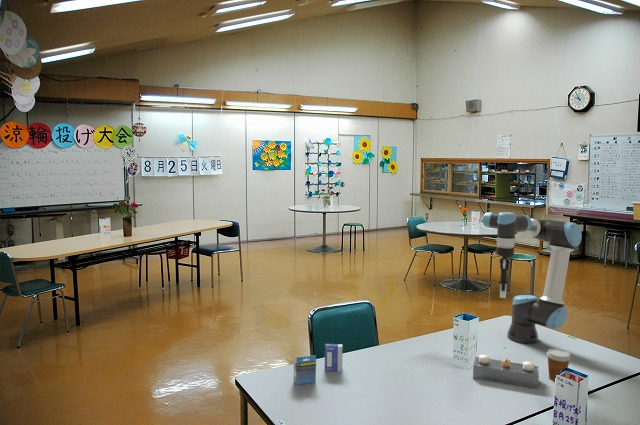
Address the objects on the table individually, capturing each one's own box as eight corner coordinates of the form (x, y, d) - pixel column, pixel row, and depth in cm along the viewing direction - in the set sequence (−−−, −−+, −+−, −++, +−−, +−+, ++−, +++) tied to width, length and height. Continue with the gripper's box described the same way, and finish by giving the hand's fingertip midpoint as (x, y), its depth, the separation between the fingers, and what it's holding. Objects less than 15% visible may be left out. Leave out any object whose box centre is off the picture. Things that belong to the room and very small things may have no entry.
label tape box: (313, 378, 214) (313, 351, 213) (316, 382, 210) (316, 355, 209) (293, 381, 211) (293, 354, 210) (296, 385, 207) (296, 357, 206)
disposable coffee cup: (544, 381, 214) (546, 354, 212) (545, 372, 222) (547, 346, 221) (568, 385, 209) (570, 358, 208) (569, 377, 218) (571, 350, 216)
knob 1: (478, 370, 221) (479, 353, 220) (489, 371, 220) (489, 355, 219) (477, 374, 217) (478, 357, 216) (488, 375, 216) (489, 359, 215)
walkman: (324, 370, 222) (324, 345, 220) (325, 368, 224) (325, 342, 223) (342, 371, 221) (342, 346, 220) (342, 369, 224) (342, 343, 222)
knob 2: (522, 377, 214) (523, 360, 214) (533, 379, 213) (534, 362, 212) (522, 381, 210) (523, 364, 210) (533, 383, 209) (534, 366, 208)
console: (474, 369, 225) (475, 356, 224) (537, 379, 215) (538, 366, 214) (472, 378, 215) (473, 365, 215) (537, 389, 206) (538, 375, 205)
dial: (502, 363, 217) (502, 357, 216) (510, 365, 215) (510, 359, 215) (501, 366, 214) (501, 360, 213) (509, 368, 212) (509, 361, 212)
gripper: (497, 243, 231) (494, 292, 234) (495, 248, 219) (493, 300, 222) (514, 244, 228) (511, 294, 231) (514, 249, 216) (511, 302, 219)
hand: (502, 297), depth 226 cm, fingers closed
